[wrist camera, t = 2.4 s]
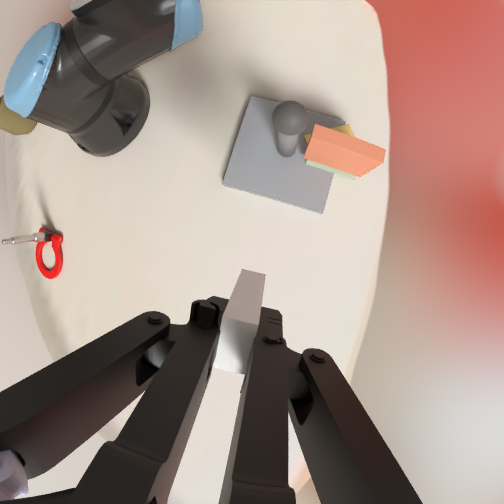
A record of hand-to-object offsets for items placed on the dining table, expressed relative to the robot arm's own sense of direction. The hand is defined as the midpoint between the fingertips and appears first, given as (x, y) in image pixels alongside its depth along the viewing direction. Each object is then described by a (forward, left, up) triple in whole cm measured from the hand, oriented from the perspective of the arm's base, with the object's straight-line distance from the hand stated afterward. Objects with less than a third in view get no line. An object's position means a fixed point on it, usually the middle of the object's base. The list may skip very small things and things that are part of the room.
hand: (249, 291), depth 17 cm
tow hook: (-10, -39, -21) cm, 46 cm away
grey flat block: (-13, +8, -21) cm, 26 cm away
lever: (-11, +10, -19) cm, 24 cm away
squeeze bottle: (-42, -43, -21) cm, 64 cm away
